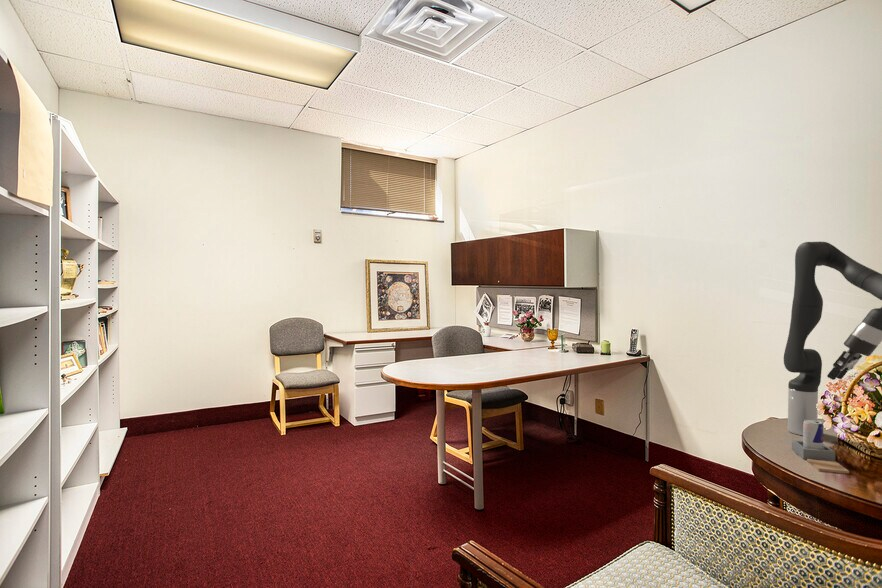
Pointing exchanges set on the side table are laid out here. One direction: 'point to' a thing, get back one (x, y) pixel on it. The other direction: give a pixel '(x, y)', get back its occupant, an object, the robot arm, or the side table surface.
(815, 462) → the light tan wooden coaster
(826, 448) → the square collar
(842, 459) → the side table surface
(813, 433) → the energy drink
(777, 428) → the side table surface
